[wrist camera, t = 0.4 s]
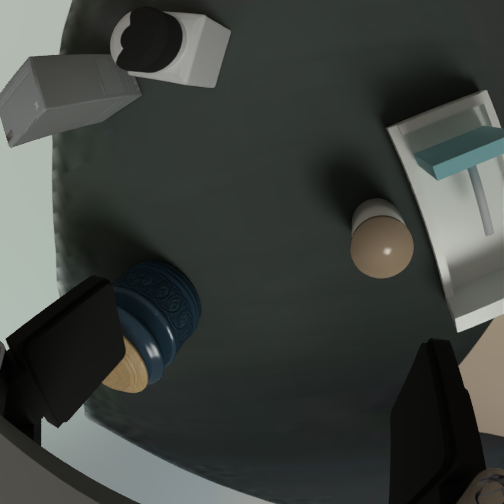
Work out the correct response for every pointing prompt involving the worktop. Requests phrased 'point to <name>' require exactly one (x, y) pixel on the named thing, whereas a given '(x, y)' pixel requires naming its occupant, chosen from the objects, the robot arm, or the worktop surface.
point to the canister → (152, 322)
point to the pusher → (465, 161)
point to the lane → (459, 209)
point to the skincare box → (63, 95)
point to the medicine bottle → (170, 46)
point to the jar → (380, 239)
